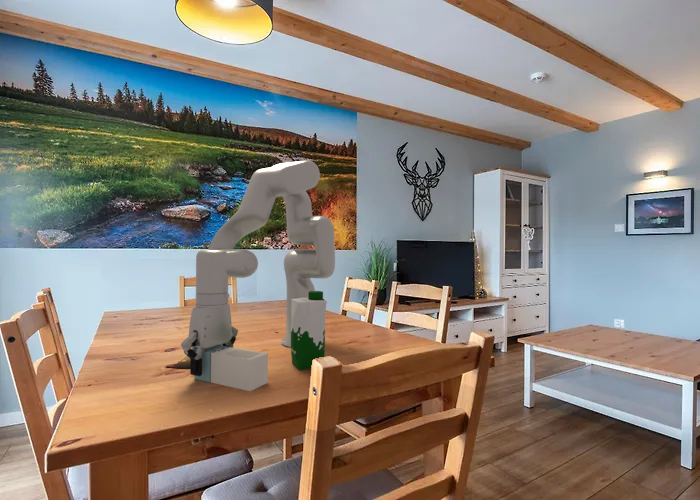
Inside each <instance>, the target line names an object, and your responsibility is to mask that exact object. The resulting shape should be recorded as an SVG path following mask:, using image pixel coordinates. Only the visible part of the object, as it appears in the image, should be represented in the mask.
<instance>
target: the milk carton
mask: <svg viewBox="0 0 700 500" xmlns="http://www.w3.org/2000/svg"><path fill="white" fill-rule="evenodd" d="M308 297H309V298H300V299H291V347H290V351H291V352H290V353H291V363H292V364H293V365H294V366H295V368H296V369H297V370H298V371H304V370H312V369H311V365H312V360H313V359H315V358H319V357H324V356H325V354H326V311H327V300H326V299H324V292H323V291H321V290H315V291H310V292H309V295H308Z"/></svg>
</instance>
